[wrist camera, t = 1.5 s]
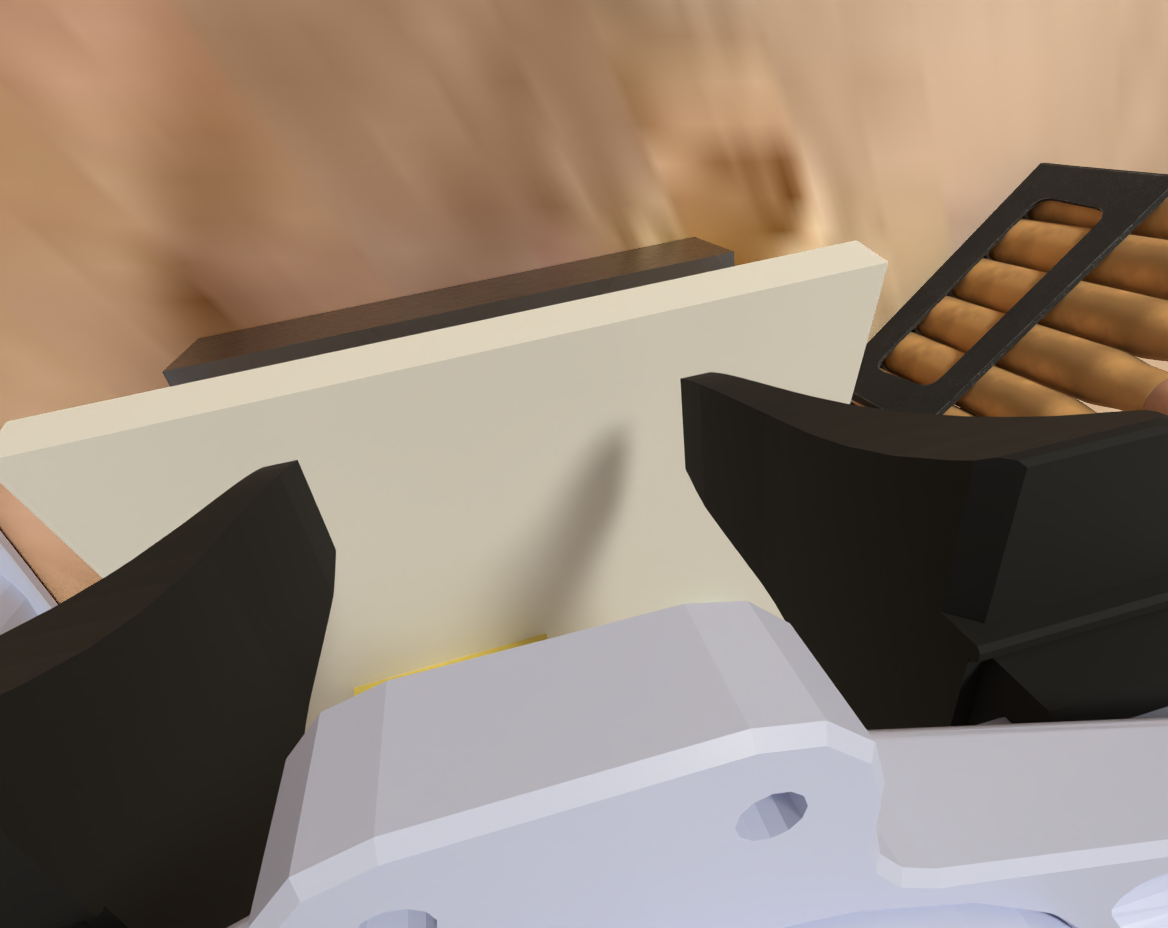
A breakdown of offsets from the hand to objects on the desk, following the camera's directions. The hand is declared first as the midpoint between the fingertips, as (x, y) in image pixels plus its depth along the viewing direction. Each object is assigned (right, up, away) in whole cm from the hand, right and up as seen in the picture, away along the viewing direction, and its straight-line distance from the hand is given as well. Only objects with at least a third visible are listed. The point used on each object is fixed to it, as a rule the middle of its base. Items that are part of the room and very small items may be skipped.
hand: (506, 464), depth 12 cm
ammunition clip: (+15, +7, +13) cm, 21 cm away
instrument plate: (0, -3, +7) cm, 7 cm away
